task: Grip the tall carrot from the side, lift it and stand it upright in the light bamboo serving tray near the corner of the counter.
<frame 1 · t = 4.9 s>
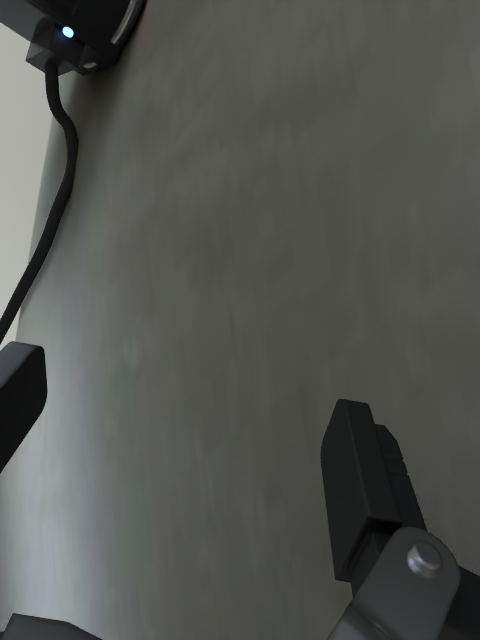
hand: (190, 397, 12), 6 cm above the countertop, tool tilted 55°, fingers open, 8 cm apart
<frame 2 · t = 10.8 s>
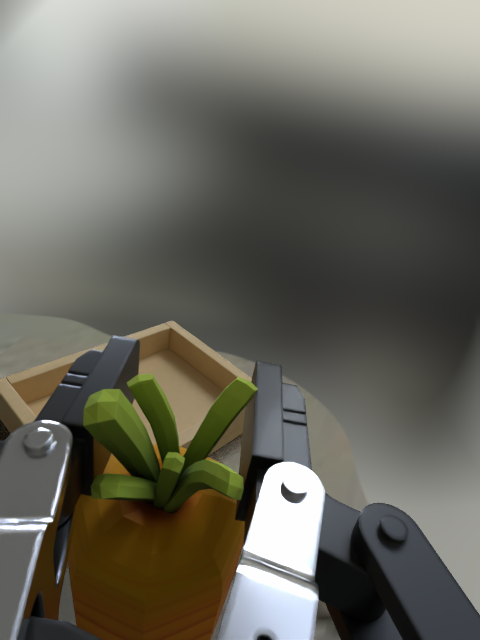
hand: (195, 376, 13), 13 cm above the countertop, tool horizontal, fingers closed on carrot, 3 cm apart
tray: (138, 417, 28), on the countertop
when the fingers open (14 cm above the countertop, at t = 18.2 s): carrot stays where it is, resting on tray.
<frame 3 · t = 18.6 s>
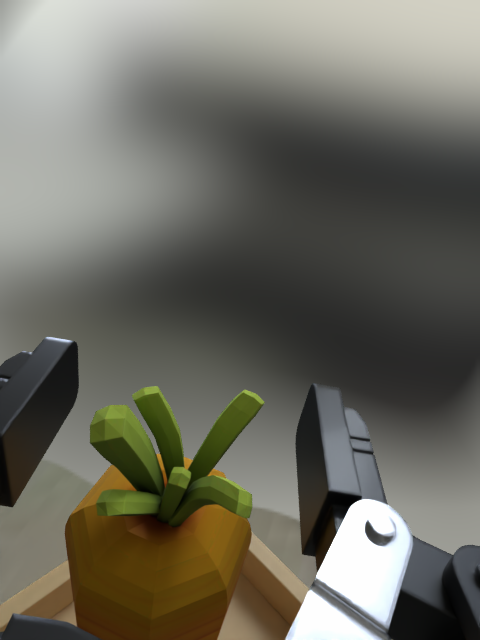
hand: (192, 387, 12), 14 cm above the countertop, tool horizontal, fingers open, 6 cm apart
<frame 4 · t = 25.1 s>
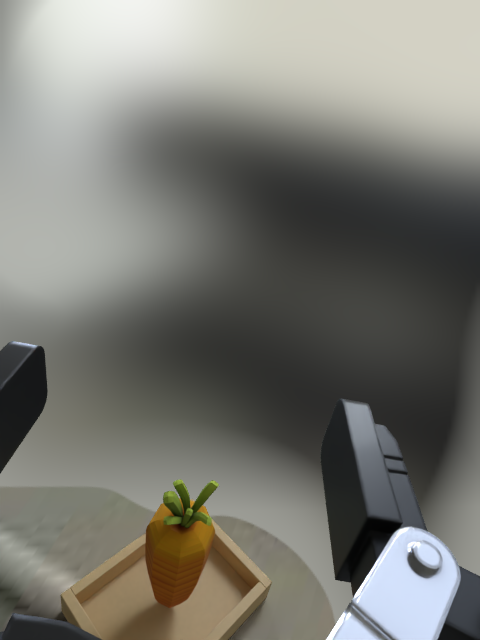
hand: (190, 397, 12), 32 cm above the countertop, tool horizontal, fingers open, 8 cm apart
tray: (168, 604, 37), on the countertop
carrot: (168, 603, 36), resting on tray
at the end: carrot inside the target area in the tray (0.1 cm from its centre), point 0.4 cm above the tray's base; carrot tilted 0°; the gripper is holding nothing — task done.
